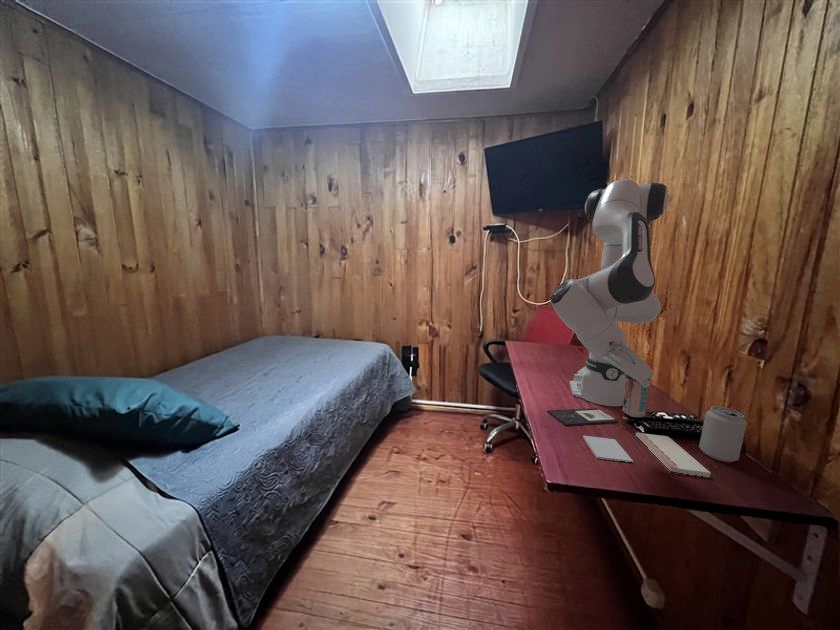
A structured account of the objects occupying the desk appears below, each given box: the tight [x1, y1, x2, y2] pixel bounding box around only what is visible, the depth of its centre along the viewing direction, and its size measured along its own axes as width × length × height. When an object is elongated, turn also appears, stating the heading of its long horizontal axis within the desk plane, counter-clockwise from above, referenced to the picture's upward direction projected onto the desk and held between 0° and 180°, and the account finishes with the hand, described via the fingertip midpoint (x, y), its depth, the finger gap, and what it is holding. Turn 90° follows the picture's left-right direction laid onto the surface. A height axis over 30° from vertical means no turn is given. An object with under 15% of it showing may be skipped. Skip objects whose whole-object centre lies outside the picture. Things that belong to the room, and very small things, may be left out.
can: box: [698, 405, 747, 463], centre depth 82 cm, size 8×8×12 cm
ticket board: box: [635, 431, 711, 478], centre depth 81 cm, size 16×8×1 cm, turn 171°
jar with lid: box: [622, 374, 650, 418], centre depth 80 cm, size 5×5×12 cm
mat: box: [582, 435, 634, 464], centre depth 83 cm, size 10×8×1 cm
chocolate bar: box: [546, 407, 619, 427], centre depth 100 cm, size 9×1×18 cm
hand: (639, 380), depth 80 cm, fingers closed on jar with lid, 5 cm apart
